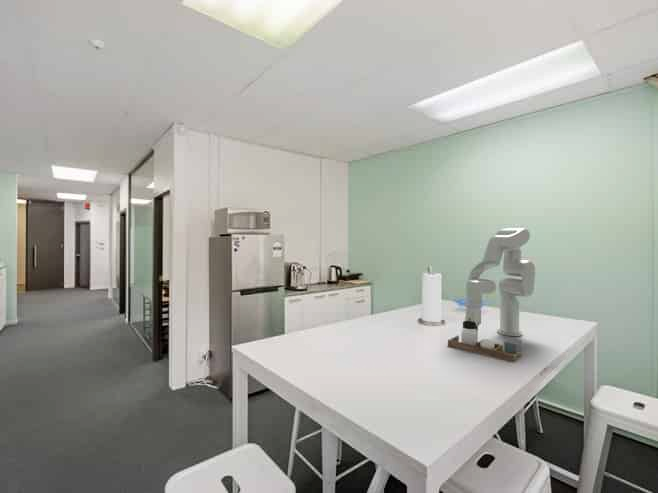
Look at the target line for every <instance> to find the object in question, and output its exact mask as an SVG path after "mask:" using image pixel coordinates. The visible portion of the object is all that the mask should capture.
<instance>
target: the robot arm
mask: <svg viewBox="0 0 658 493" xmlns="http://www.w3.org/2000/svg"><path fill="white" fill-rule="evenodd" d="M530 238H531V232H530V231H529V229H527V228H523V227H518V228H515V227H514V228H502V229H499V230H498V231H496V235H493V236H491V237H490V238H489V240H488V242H487V245H486V249H485V252H484V255H483V258H482V260H481V261H480V262H478V263H477V264H476V265H475V266H474V267H473V268H472V269H471V270H470V272H469V275H468V279H467V280H466V286H465V288H466V290H465V295H466V296H465V298H466V300H465V303H466V304H465V306H466V309H465V320H464V321H473V322H475V323H476V330H477V339H478V338H479V337H478V335H479V334H478V330H479V326H480V325H481V324H482V308H483V294H487V295H491V294H493V293H494V292H496V289H497V285H496V283H495V282H494V281H493V280H490V279H485V278H484V279H483V278H480V276H481V275H482V274H484V272H486V271H488V270H491V269H493V268H496V267H498V266H500V265H501V260H502V257H503V264H502V265H503V266H502V271H503V272H502V273H503V274H504V275H506V276H509V277H510V278H508V277H504V278H502V279H501V280H499V281H498V291H499V300H500V302H499V303H500V304H499V306H500V308H499V310H500V311H499V313H500V314H499V315H500V316H499V322H500V323H499V328H497V329H496V332H497V333H498V334H500V335H504V336H509V337H522V336H523V332H522V331H520V302H519V298H518V297H521V298H522V297H523V298H530V297H532V295H533V294H534V289H535V281H536V279H535V278H536V266H535V264H534V262H533V261H531V260H527V259H522V249H521V247H523V246H524V245H526V244H527V243H528V242H529V240H530ZM512 277H518V278H512ZM520 278H521V279H520Z"/></svg>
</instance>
